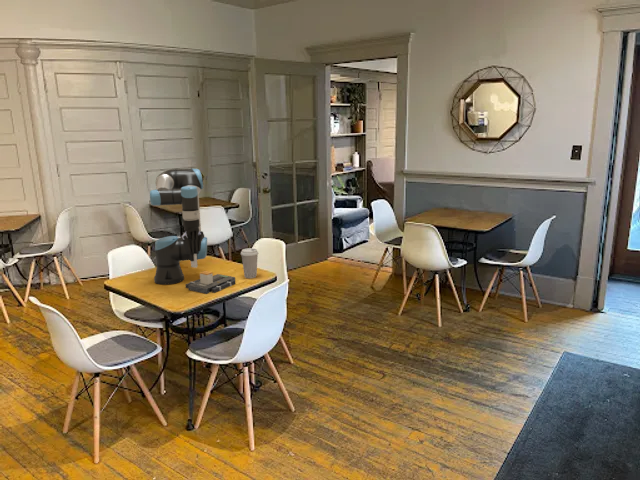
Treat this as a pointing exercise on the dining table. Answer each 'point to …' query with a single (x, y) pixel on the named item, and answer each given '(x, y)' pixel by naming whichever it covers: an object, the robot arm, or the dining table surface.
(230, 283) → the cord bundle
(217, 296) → the dining table surface
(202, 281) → the lever
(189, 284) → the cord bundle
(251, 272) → the coffee cup
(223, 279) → the panel
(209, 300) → the dining table surface
